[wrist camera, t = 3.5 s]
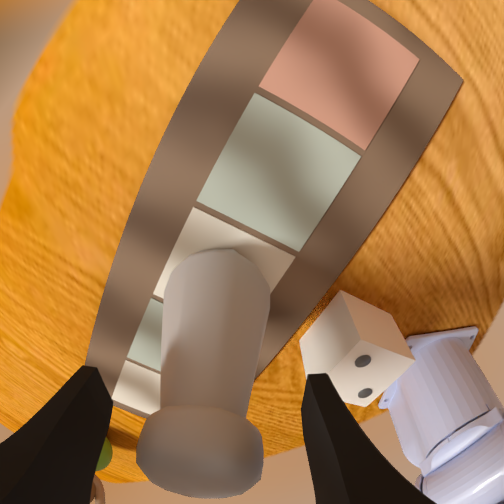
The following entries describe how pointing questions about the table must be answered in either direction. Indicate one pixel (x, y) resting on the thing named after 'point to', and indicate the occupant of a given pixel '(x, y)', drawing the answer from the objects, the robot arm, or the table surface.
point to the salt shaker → (208, 378)
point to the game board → (271, 170)
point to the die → (355, 349)
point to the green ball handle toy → (102, 463)
